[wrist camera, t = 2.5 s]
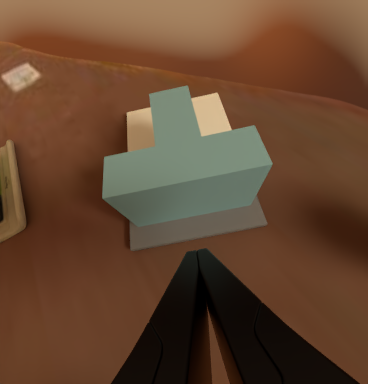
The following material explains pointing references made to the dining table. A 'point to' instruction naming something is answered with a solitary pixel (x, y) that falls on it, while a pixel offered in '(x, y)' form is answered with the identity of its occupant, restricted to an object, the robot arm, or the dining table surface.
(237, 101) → the dining table surface
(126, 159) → the t block
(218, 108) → the mat
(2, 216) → the wooden puzzle
